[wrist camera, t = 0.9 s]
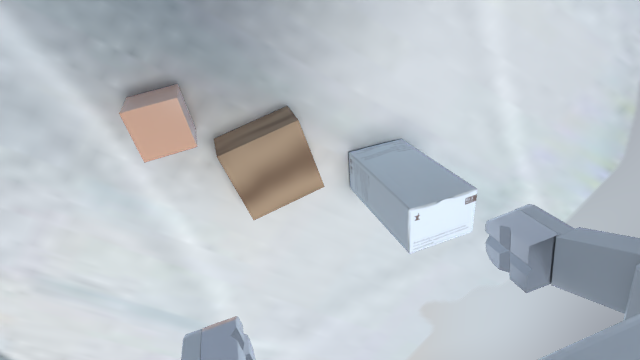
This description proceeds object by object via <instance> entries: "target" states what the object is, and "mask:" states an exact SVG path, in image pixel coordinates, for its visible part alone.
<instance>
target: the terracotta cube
mask: <svg viewBox="0 0 640 360" xmlns="http://www.w3.org/2000/svg"><path fill="white" fill-rule="evenodd" d="M119 114H120V116H121V118H122V120H123V122H124V124H125V126H126V128H127V130H128V132H129V134H130V136H131V137H132V139H133V141H134V143H135V145H136V147H137V149H138V151H139V153H140V155H141V157H142V159H143V161H144V163H145V162H148V161H151V160H155V159H158V158H161V157H165V156H168V155H171V154H175V153H178V152H181V151H185V150H188V149H191V148H195V147H197V138H196V128H195V126H194V123H193V121H192V118H191V116H190V113H189V111H188V108H187V106H186V103H185V101H184V98H183V96H182V93H181V91H180V88H179V86H178V84H175V85H172V86H168V87H164V88H160V89H156V90H153V91H149V92H145V93H141V94H137V95H134V96H130V97H126V100H125V102H124V104H123V106H122V108H121V110H120V113H119Z"/></svg>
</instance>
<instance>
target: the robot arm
mask: <svg viewBox="0 0 640 360" xmlns="http://www.w3.org/2000/svg"><path fill="white" fill-rule="evenodd" d="M485 231H486V232H487V233H488V234H489V237H488V239H487V241H486V252H487V254H488V256H489V259H490V260H491V261H492V263H493V264H494V265H495V266H496V267H497V268H498V269H499V270H502V271H506V272H509V276H510V279H511V280H512V281H513V282H514V283H515V284H516V285H517V286H519V287H520V288H521V289H522V290H523V291H524V292H525V293H528V292H530V291H533V290H536V289H538V288H541V287H544V286H546V285H549V284H551V285H552V286H555V287H558V288H560V289H563V290H565V291H568V292H570V293H573V294H575V295H578V296H581V297H583V298H586V299H588V300H591V301H593V302H596V303H599V304H601V305H604V306H606V307H609V308H611V309H614V310H616V311H619V312H622V313H624V314H625V315H624V320H623V321H622V322H620V323H618V324H615V325H613V326H611V327H609V328H606V329H604V330H602V331H600V332H597V333H595V334H594V335H591V336H589V337H586V338H584V339H582V340H580V341H578V342H575V343H573V344H571V345H569V346H566V347H564V348H562V349H560V350H558V351H555V352H553V353H551V354H549V355H546V356H544V357H542V358H540V359H538V360H640V238H635V237H630V236H625V235H619V234H614V233H608V232H602V231H597V230H591V229H586V228H581V227H579V228H576V229H575V228H573V227H571V226H569V225H568V224H566V223H564V222H563V221H561V220H559V219H557V218H556V217H554V216H552V215H551V214H549V213H547V212H545V211H544V210H542V209H540V208H539V207H537V206H535V205H532V204H528V205H525V206H523V207H520V208H518V209H515V210H513V211H511V212H508V213H505V214H503V215H500V216H498V217H495V218H493V219H490V220H488V221H487V222H486V224H485ZM181 360H255V355H254V351H253V347H252V344H251V342H250V339H249V337H248V335H246V334H244V333H243V325H242V323H241V321H240V319H239V317H237V316H236V317H233V318H230V319H227V320H224V321H221V322H219V323H216V324H213V325H210V326H207V327H204V328H203V329H200V330H197V331H194V332H191V333H189V334H186V335H185V337H184V339H183V346H182V356H181Z"/></svg>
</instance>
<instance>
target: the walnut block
mask: <svg viewBox="0 0 640 360" xmlns="http://www.w3.org/2000/svg"><path fill="white" fill-rule="evenodd" d="M214 143H215V149H216V154H217V158H218V160H219V161H220V163H221V165H222V166H223V168H224V170H225V172H226V173H227V175H228V177H229V179H230V180H231V182H232V184H233V185H234V187H235V189H236V191H237V192H238V194H239V196H240V197H241V199H242V201H243V203H244V204H245V206H246V208H247V210H248V211H249V213H250V215H251V216H252V218H253V220H256V219H258V218H260V217H262V216H264V215H266V214H268V213H270V212H272V211H275V210H277V209H279V208H281V207H283V206H285V205H287V204H289V203H291V202H293V201H295V200H298V199H300V198H302V197H304V196H306V195H308V194H310V193H312V192H314V191H316V190H319V189H321V188H323V187H324V184H323V182H322V179H321V177H320V174H319V171H318V169H317V166H316V164H315V161H314V159H313V156H312V154H311V151H310V149H309V146H308V143H307V141H306V138H305V136H304V133H303V131H302V128H301V126H300V123H299V121H298V119H297V118H296V116H295V115H294V114H293V113H292V111H291V110H290V109H289V108H288V106H286V107H284V108H282V109H279V110H277V111H275V112H273V113H270V114H268V115H266V116H264V117H261V118H259V119H257V120H255V121H253V122H250V123H248V124H246V125H244V126H241V127H239V128H237V129H235V130H233V131H230V132H228V133H226V134H224V135H221V136H219V137H217V138H215V139H214Z"/></svg>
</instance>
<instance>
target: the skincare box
mask: <svg viewBox="0 0 640 360" xmlns="http://www.w3.org/2000/svg"><path fill="white" fill-rule="evenodd" d="M349 164H350V186H351V189H352V191H353V192H354V193H355V194H356V195H357V196H358V197H359V198H360V200H361V201H362V202H363V203H364V204H365V205H366V206H367V207H368V208H369V210H370V211H371V212H372V213H373V214H374V215H375V216H376V217H377V218H378V219H379V221H380V222H381V223H382V224H383V225H384V226H385V227H386V228H387V229H388V230H389V232H390V233H391V234H392V235H393V236H394V237H395V238H396V239H397V240H398V242H399V243H400V244H401V245H402V246H403V247H404V248H405V249H406V250H407V252H408V253H409V254H411V253H414V252H417V251H419V250H422V249H425V248H428V247H430V246H433V245H436V244H439V243H442V242H445V241H448V240H450V239H453V238H456V237H459V236H462V235H465V234H468V233H471V232H472V228H473V221H474V213H475V206H476V197H477V188H475V187H474V186H472V185H471V184H469V183H468V182H466V181H465V180H463V179H462V178H460V177H459V176H457V175H456V174H454V173H452V172H451V171H449V170H448V169H446V168H445V167H443V166H442V165H440V164H439V163H437V162H436V161H434V160H433V159H431V158H430V157H428V156H427V155H425V154H424V153H422V152H421V151H419V150H418V149H416V148H415V147H413V146H412V145H410V144H409V143H407V142H406V141H404V140H403V139H399V140H396V141H391V142H387V143H383V144H379V145H375V146H371V147H367V148H364V149H360V150H356V151H352V152H349Z"/></svg>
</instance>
